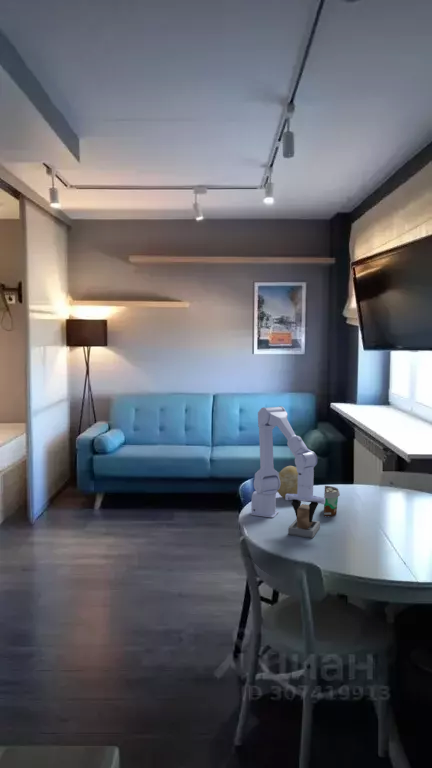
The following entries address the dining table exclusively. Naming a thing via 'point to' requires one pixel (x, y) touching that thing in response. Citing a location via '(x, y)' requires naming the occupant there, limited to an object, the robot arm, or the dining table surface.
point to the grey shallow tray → (304, 530)
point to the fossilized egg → (288, 481)
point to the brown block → (303, 517)
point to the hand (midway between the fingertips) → (304, 520)
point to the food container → (330, 501)
